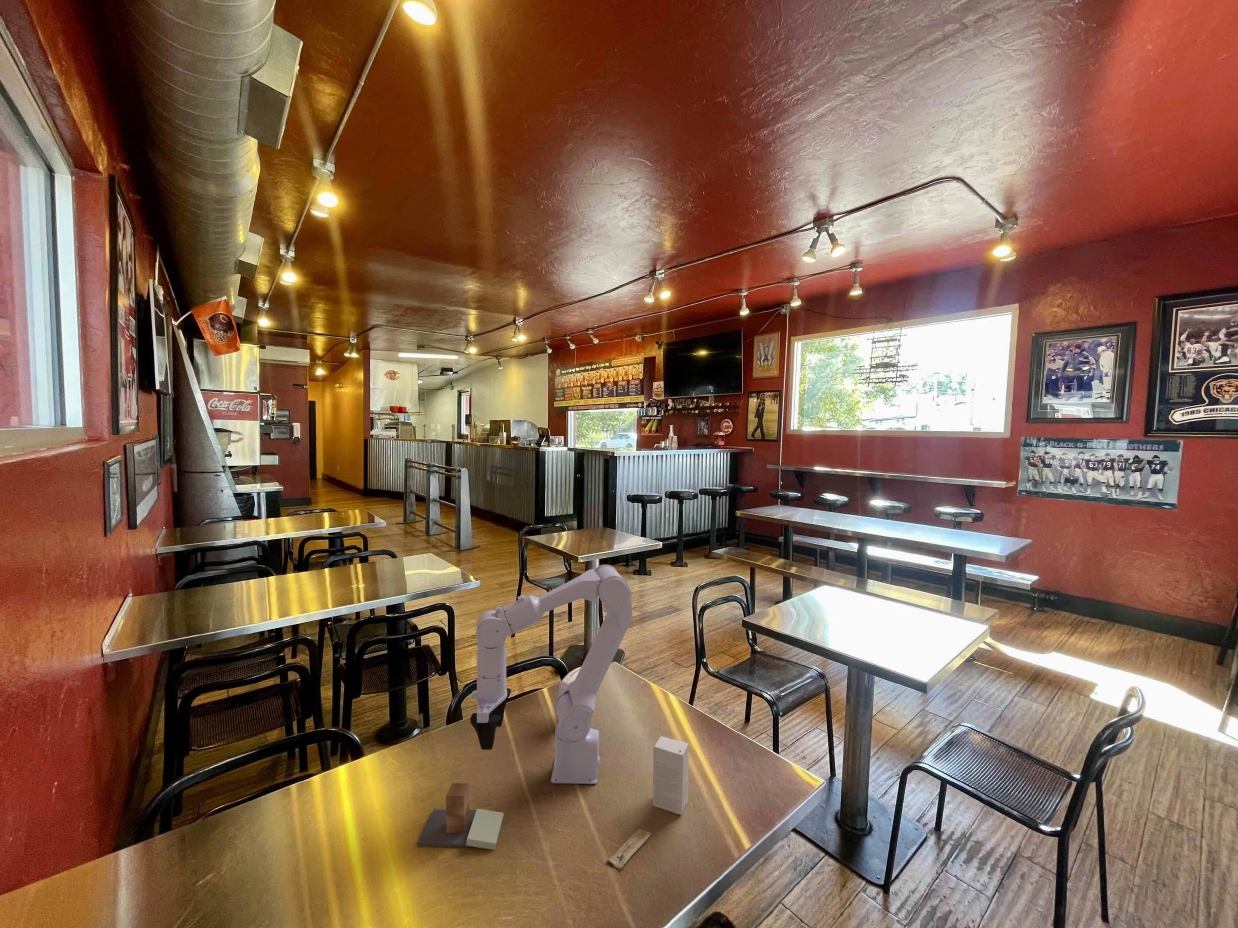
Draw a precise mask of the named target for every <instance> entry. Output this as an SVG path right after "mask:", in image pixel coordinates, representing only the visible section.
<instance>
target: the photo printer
mask: <svg viewBox="0 0 1238 928" xmlns="http://www.w3.org/2000/svg"><path fill="white" fill-rule="evenodd" d="M581 667H582V666H580V667H577V668H574V669H573V670H571V671H569V672H568V674H566V675H565V676H564V678H563V679H561V681H560V683H559V684H558V696H559V695H560V694H562V693H563V692H564V691H565V690H566V688H567V687H568V685H569V683H571V682H573V681H575V679H576V677H577V675H578V673H579V671H580V669H581Z"/></svg>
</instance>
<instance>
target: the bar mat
mask: <svg viewBox="0 0 1238 928" xmlns="http://www.w3.org/2000/svg"><path fill="white" fill-rule="evenodd" d="M476 810H477V809H469V814H470V820H469V822H468V825H467V828H466V830H465V833H446V809H433V810H432V812H431V814H430V817H429V819H428V821H427V822H426V824H425V826H424V829H423V831H422V833H421V834H420V837H419V839H418V841H417V843H416V845H417V847H440V848H441V847H442V848H443V847H444V848H446V847H448V848H453V847H455V848H475V847H474V846H468V845H466V842H467V837H468V834H469V831H470V828H471V825H472V822H473V819H474V816H475V813H476Z"/></svg>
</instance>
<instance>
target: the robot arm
mask: <svg viewBox="0 0 1238 928" xmlns="http://www.w3.org/2000/svg"><path fill="white" fill-rule="evenodd" d="M632 596H633V592H632V590H631V588H630V585H629V583H628V582H627V580H625V578H623V577H622V576H621V574H620V573H619V572H618V571H617V568H616V567H614V566H613V565H610V564H601V565H598V566H597V567H595V568H592V569H589V570H586V571H585V572H584V573H582V574H581V575H579V576H576V577H575V578H573V579H571V580H568V581H567V582H565V583H562V585H560V586H558V587H556V588H554V589H551V590H550V591H548V592H546V593H544V594H543V595H540V596H538V597H537V596H534V595H531V594H528V595H526V596H525V595H524V594H522V595H520V596H517V600H515V601H513V602H511V603H509V604H506V605H504V606H497V607H495V610H493V609H490V610H487V611H484V612H482V614H481V615H480V616H479V617H478V619H477V622H476V630H475V631H476V633H475V634H476V640H477V643H476V644H477V645H476V647H477V651H476V690H473V691H472V692H471V694H470V698H471V699H472V700H474V699H475V700H476V705H477V706H476V707H477V711H476V712H472V714H471V716H470V718H469V720H470V721H469V722H470V724H471V726H472V727H473V729H474V731H475V733H476V735H477V739H478V742H479V745H480V749H481V750H483V751H489V750H490V751H491V750H493V747H494V743H495V740H496V739H495V737H496V731H497V728H501V727H502V725H503V721H504V716H505V711H506V706H507V702H508V700H509V698H510V696H511V693H512V689H511V688H508V687H507V648H506V646H505V645H506V644H505V642H506V640H507V638H508V637H509V636H512V635H514V634H516V633H518V632H521V631H522V630H525V629H528V628H529V627H531V626H533V625H535V624H538V623H540V622H541V621H542V618H543V616H544V614H545V613H547V612H550V611H553V610H555V609H557V608H559V607H562V606H564V605H565V606H566V605H567V604H570V603H572V602H575V601H577V600H579V599H583V600H586V601H589V602H593V603H597V602H598V601H597V597H599V599H600V601H601V602H602V604H603V608H604V610H605V612H606V615H605V617H604V620H603V622H601V623H602V624H601V626H600V628H599V630H598V632H597V634H596V636H595V638H594V640H593V642H592V644H591V646H590V648H589V650H588V653H587V655H586V656H585V659H584V661H583V663H582V665H581V666H580V667H581V669H580V671H579V673H578V675H577V677H576V679H575V681H573V682H571V683H569V685H568V687H567V688H566V690H565V691H564V692H563V693H562V694H560V695H559V694H558V696H557V698H556V701H555V704H554V709H555V712H556V713H557V719H558V722H557V724H556V725H555V730H554V762H553V768H552V773H551V778H550V782H551V784H570V785H571V784H572V785H573V784H578V785H579V784H583V785H584V784H587V785H588V784H589V785H596V784H597V783H598V776H599V775H598V774H599V768H600V765H601V756H600V755H599V750H600V749H599V747H600V746H599V745H600V742H599V740H600V737H599V735H600V731H599V729H594V728H592V716H593V715H594V712H595V705H596V695H597V692H598V691H599V689H600V687H601V684H602V683H603V681H604V678H605V676H606V674H607V672H608V670H609V668H610V665H611V664H612V662H613V660H614V657H615V655H616V653H617V652H618V650H619V647H620V646H621V643H622V641H623V640H624V637H625V635H626V633H627V631H628V629H629V627H630V624H631V623H632V621H633V606H632V605H633V603H632Z"/></svg>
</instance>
